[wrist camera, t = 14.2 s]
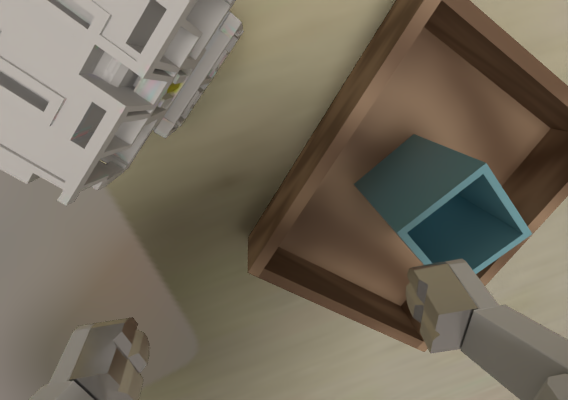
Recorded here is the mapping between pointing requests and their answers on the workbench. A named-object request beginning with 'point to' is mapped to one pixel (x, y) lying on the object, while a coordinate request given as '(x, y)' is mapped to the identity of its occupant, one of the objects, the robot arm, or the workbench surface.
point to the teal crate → (443, 204)
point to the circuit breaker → (101, 81)
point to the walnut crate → (396, 130)
